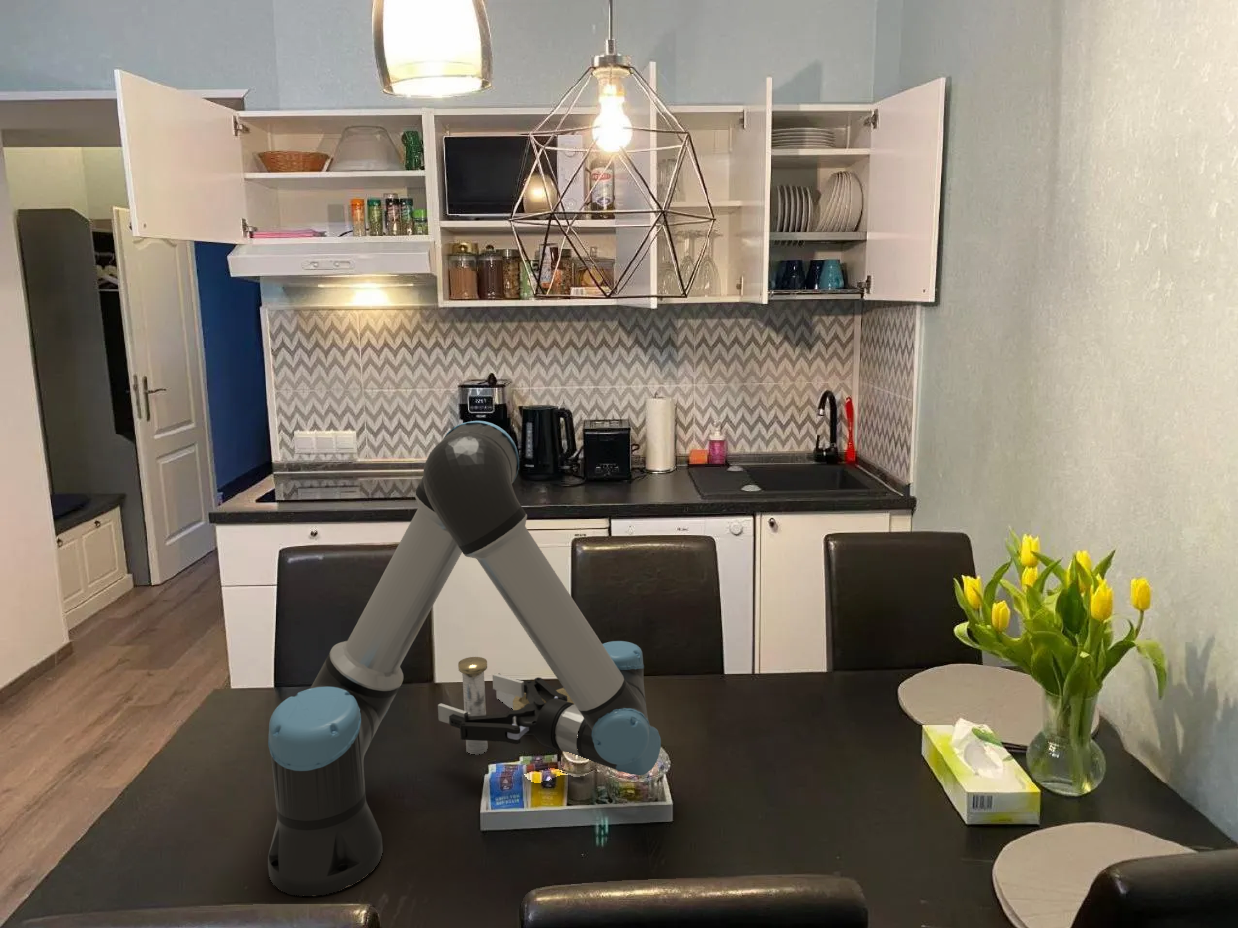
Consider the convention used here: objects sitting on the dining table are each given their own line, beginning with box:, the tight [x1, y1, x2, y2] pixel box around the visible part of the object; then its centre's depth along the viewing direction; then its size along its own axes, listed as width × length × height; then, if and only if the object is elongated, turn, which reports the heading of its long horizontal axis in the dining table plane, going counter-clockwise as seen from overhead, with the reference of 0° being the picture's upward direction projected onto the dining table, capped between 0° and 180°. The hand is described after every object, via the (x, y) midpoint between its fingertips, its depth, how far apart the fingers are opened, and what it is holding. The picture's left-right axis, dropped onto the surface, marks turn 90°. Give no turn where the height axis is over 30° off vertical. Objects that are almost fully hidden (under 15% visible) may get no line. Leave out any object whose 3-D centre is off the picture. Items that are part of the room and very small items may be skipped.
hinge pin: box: [457, 656, 488, 756], centre depth 152 cm, size 5×5×16 cm
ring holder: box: [495, 672, 574, 726], centre depth 165 cm, size 14×20×5 cm
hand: (467, 695), depth 153 cm, fingers open, 13 cm apart
